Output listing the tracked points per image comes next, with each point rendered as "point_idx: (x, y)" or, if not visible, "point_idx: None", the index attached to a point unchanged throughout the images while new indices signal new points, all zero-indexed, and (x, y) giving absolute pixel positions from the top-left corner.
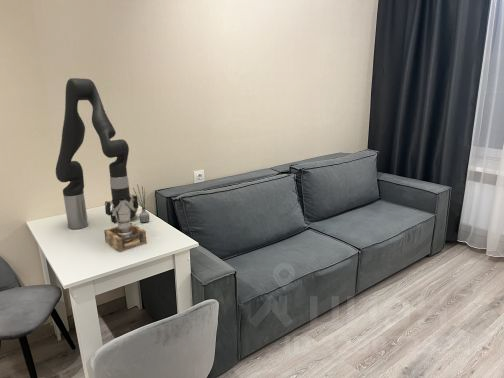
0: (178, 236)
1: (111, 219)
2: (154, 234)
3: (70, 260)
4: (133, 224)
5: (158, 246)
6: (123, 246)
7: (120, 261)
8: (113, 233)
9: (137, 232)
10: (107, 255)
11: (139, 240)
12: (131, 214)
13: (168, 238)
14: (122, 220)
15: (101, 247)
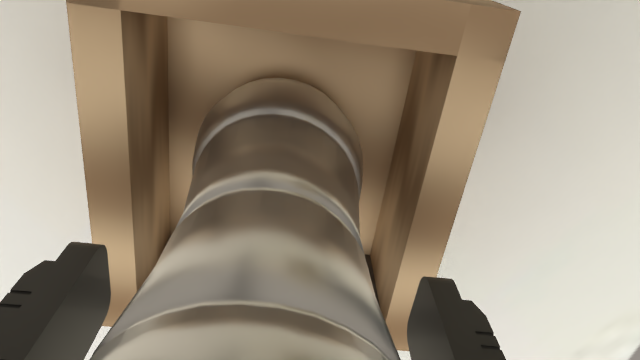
0: (611, 336)
1: (7, 312)
2: (566, 177)
3: None
4: (483, 107)
5: (399, 355)
6: None
7: (90, 348)
8: (125, 168)
9: (396, 225)
10: (44, 219)
11: (366, 227)
12: (428, 358)
13: (547, 313)
14: None
15: (49, 30)
